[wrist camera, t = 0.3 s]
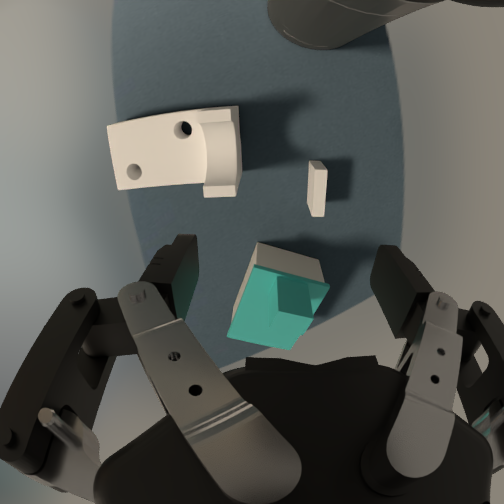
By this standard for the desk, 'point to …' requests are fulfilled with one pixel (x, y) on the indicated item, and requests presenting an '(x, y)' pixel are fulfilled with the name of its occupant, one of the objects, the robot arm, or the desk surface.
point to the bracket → (179, 150)
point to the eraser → (317, 188)
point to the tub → (281, 265)
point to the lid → (276, 307)
